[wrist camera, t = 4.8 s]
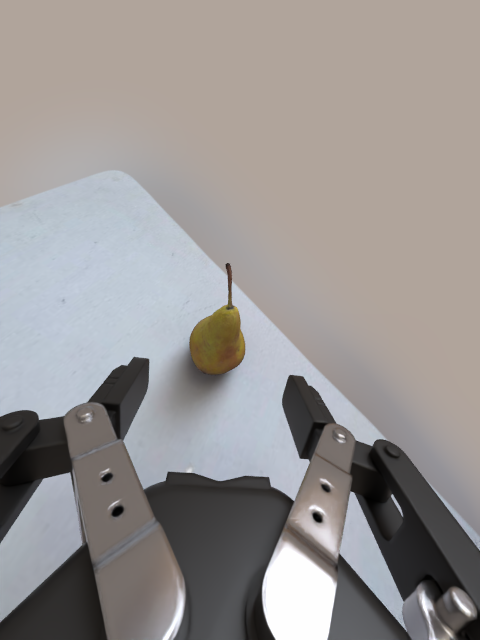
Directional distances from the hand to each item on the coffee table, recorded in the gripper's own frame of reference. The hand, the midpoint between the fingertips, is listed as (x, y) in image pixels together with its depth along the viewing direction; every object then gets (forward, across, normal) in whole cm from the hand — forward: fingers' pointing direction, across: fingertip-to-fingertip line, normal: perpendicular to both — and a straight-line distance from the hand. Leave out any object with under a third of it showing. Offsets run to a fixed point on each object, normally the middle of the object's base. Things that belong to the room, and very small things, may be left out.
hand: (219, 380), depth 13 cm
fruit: (+11, 0, +4) cm, 12 cm away
